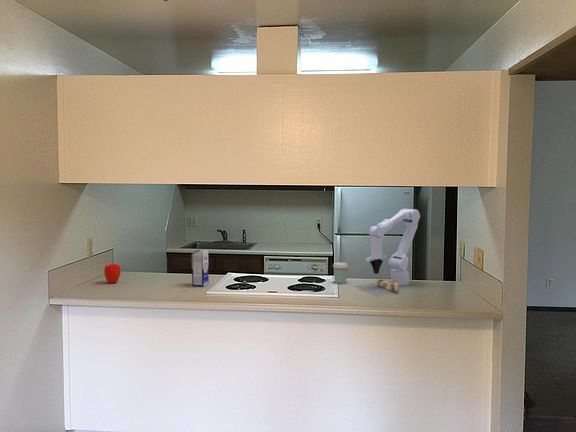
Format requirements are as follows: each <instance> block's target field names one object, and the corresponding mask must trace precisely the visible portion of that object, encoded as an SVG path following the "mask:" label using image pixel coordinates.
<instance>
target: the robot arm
mask: <svg viewBox="0 0 576 432" xmlns="http://www.w3.org/2000/svg"><path fill="white" fill-rule="evenodd" d="M420 218H421V214H420V211H419V210H418V209H416V208H415V209H414V208H413V209H411V208H402V209H401V210H399V211H398V212H397V213H396V214H395V215H393V216H392V217H391V218H389V219H388V218H386V219H385V218H384V219H383V220H382V221H381V222H379V223H376V226H375V225H373V226H371V227H370V229H369V231H368V234H369V236H370V256H368V257H365V262H369V263H370V265H371V267H372V271H373V274H376V275H377V274H378V275H379V273H380V268H381V267H382V264H383V262H384V261H383V260H386V259H387V254H386V255H385V254H383V253H382V251H383V248H382V247H383V237H384V236H385V234H386V233H387V232H388V231H389V230H391V229H392V228H393V226H394V225H395V224H397V223H399V222H401V221H402V222H403V223H404V224H405V226H406V227H405V230H404V233H403V235H402V238H401V241H400V243H399V246H398V248H397V250H396V252H394V253H393V254H392V256H391V257H389V260H388V267H389V268H390V269H389V270H390V281H395V282H397V283H399V285H398V287H401V286H403V287H404V286H409V285H410V273H409V271H408V270H407V269H408V266H409V265H408V263H409V257H408V256H407V255H408V252H409V251H410V247H411V244H412V242H413V239H414V236H415V234H416V232H417V229H418V225H419V221H420Z"/></svg>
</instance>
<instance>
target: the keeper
mask: <svg viewBox="0 0 576 432" xmlns="http://www.w3.org/2000/svg"><path fill="white" fill-rule="evenodd" d="M388 282H389V284H392V285H394V293H396V294H397V293H398V291H399V286H398V285H399V283H397V282H395V281H391V280H388ZM397 295H398V294H397Z"/></svg>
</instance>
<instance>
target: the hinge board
mask: <svg viewBox="0 0 576 432" xmlns="http://www.w3.org/2000/svg"><path fill="white" fill-rule="evenodd" d="M353 288H357V289H359V290H361V291H362V292H363V291H364V292H366V293H367V294H370V295H372V296H375V297H385V296H386V297H387V296H393V295H394V296H396V295H405V294H407V293H406V292H404V291H401V290H398V293H397V294H396V293H394V291H390V290H388V289H385V288H383V287H380V286H377V283H372V284H359V285H353Z"/></svg>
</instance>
